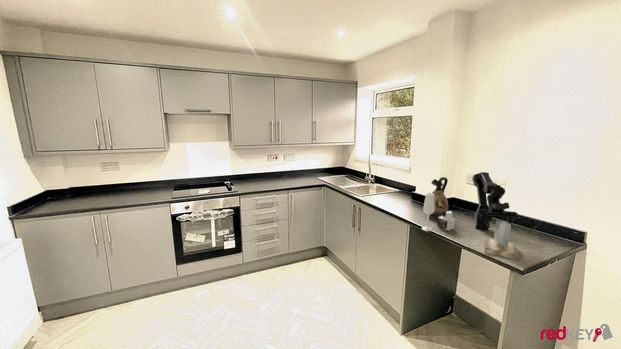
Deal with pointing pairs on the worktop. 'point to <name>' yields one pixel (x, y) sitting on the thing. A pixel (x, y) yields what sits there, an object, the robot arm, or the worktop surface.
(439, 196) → the ceramic jug
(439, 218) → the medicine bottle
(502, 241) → the block
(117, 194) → the worktop surface
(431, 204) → the champagne flute
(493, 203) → the robot arm
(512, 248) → the shallow cream tray
